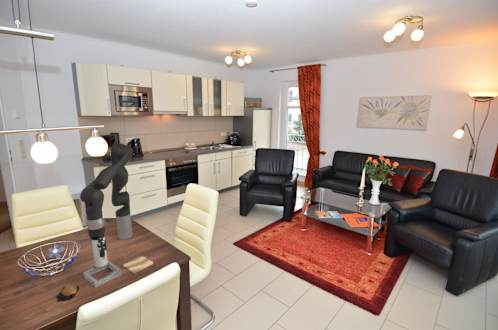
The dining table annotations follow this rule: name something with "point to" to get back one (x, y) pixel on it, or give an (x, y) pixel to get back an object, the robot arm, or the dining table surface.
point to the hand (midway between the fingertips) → (99, 254)
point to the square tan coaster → (137, 264)
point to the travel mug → (98, 254)
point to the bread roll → (68, 293)
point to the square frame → (106, 277)
